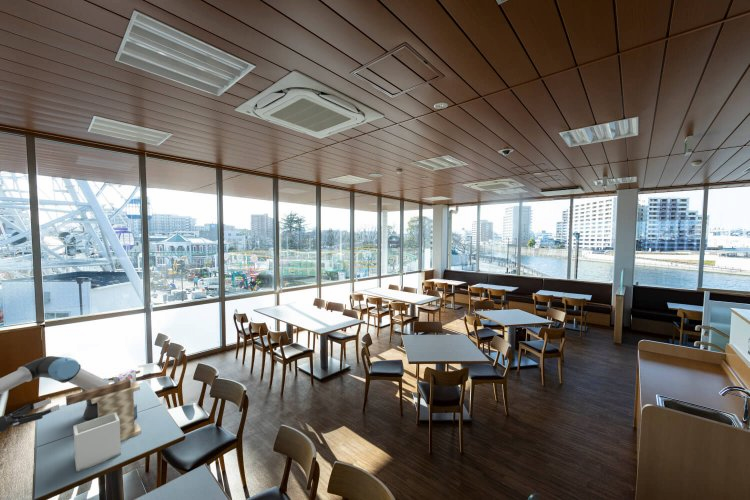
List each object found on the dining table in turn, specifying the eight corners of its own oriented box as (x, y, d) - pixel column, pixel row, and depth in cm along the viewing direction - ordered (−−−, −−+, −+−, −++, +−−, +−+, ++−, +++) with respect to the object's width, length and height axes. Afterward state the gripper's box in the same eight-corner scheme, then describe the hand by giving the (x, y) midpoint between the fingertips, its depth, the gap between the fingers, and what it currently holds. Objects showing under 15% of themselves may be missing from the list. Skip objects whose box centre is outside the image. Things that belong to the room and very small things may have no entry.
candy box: (119, 398, 232) (118, 377, 231) (113, 398, 233) (112, 376, 232) (136, 389, 245) (136, 369, 245) (130, 389, 247) (130, 369, 246)
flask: (134, 416, 209) (133, 401, 209) (138, 416, 210) (138, 401, 209) (125, 425, 200) (124, 409, 200) (130, 424, 201) (129, 408, 200)
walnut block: (66, 405, 169) (66, 398, 169) (66, 403, 172) (66, 396, 171) (130, 387, 190) (130, 381, 189) (129, 385, 192) (129, 378, 192)
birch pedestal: (93, 451, 176) (91, 400, 174) (91, 443, 182) (89, 394, 181) (141, 433, 192) (139, 386, 191) (137, 426, 199) (136, 381, 197)
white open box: (76, 472, 160) (75, 435, 159) (74, 461, 168) (73, 425, 167) (120, 454, 173) (119, 420, 172) (117, 444, 181) (116, 411, 181)
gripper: (-1, 427, 144) (61, 402, 162) (-13, 412, 157) (46, 391, 175) (2, 442, 145) (63, 416, 163) (-10, 426, 157) (48, 404, 176)
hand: (54, 403), depth 169 cm, fingers open, 13 cm apart
